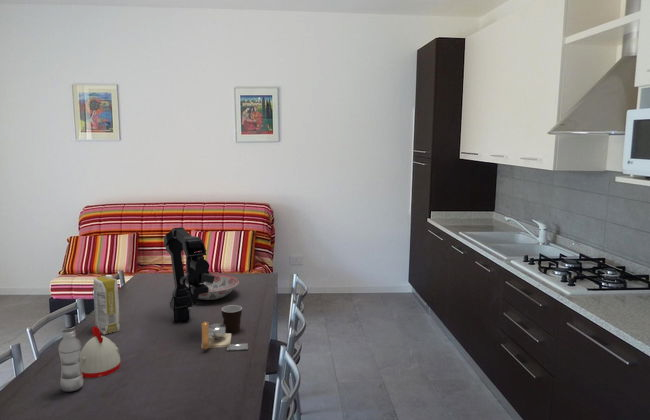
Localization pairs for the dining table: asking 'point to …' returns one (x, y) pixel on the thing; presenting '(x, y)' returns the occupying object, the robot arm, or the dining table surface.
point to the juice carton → (106, 304)
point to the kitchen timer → (99, 356)
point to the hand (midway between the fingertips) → (194, 304)
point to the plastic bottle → (70, 361)
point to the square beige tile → (219, 341)
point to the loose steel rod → (237, 347)
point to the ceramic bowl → (219, 287)
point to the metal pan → (211, 332)
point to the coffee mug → (232, 318)
